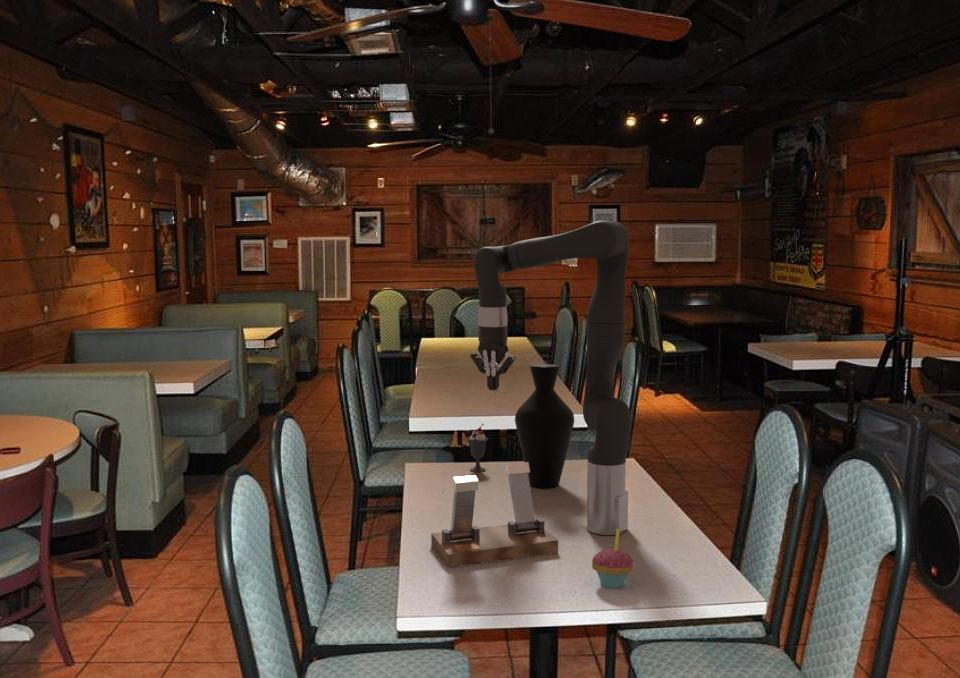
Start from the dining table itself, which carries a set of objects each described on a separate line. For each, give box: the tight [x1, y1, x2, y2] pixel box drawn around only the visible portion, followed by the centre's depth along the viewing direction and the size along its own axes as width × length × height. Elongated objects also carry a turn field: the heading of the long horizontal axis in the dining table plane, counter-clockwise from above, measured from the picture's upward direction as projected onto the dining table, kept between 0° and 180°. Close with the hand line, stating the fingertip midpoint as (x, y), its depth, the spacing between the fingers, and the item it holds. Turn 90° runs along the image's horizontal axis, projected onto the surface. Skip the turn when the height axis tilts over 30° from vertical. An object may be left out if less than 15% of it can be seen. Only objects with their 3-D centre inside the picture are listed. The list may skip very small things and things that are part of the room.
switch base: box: [430, 517, 559, 568], centre depth 191 cm, size 26×14×6 cm, turn 109°
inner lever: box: [504, 462, 539, 533], centre depth 196 cm, size 5×2×16 cm, turn 109°
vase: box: [514, 363, 575, 490], centre depth 240 cm, size 17×17×35 cm
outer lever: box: [448, 474, 480, 541], centre depth 186 cm, size 5×2×16 cm, turn 109°
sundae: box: [466, 423, 490, 473], centre depth 257 cm, size 7×7×15 cm
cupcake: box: [591, 525, 634, 589], centre depth 171 cm, size 9×8×12 cm
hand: (493, 389), depth 217 cm, fingers closed
